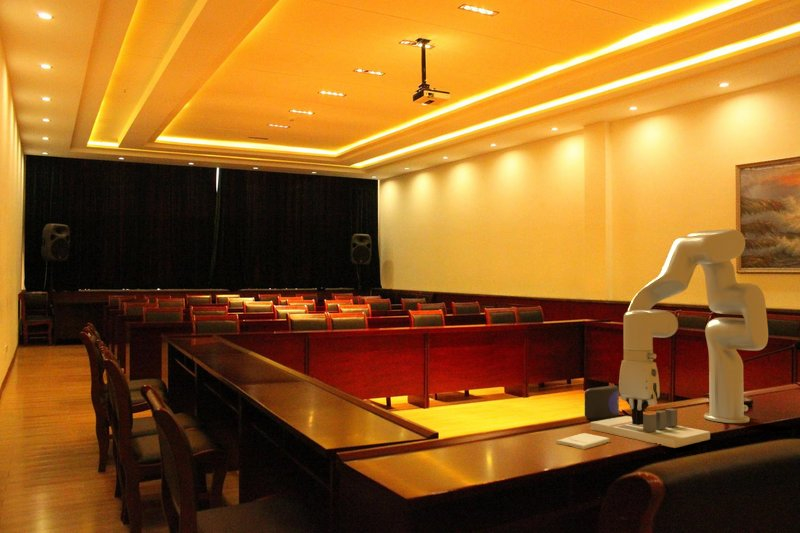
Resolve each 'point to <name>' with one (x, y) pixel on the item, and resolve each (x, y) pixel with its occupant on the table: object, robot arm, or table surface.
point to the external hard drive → (583, 441)
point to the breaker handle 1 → (660, 419)
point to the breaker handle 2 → (671, 417)
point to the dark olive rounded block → (602, 402)
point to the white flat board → (665, 436)
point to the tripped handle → (649, 421)
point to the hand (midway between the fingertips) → (638, 423)
